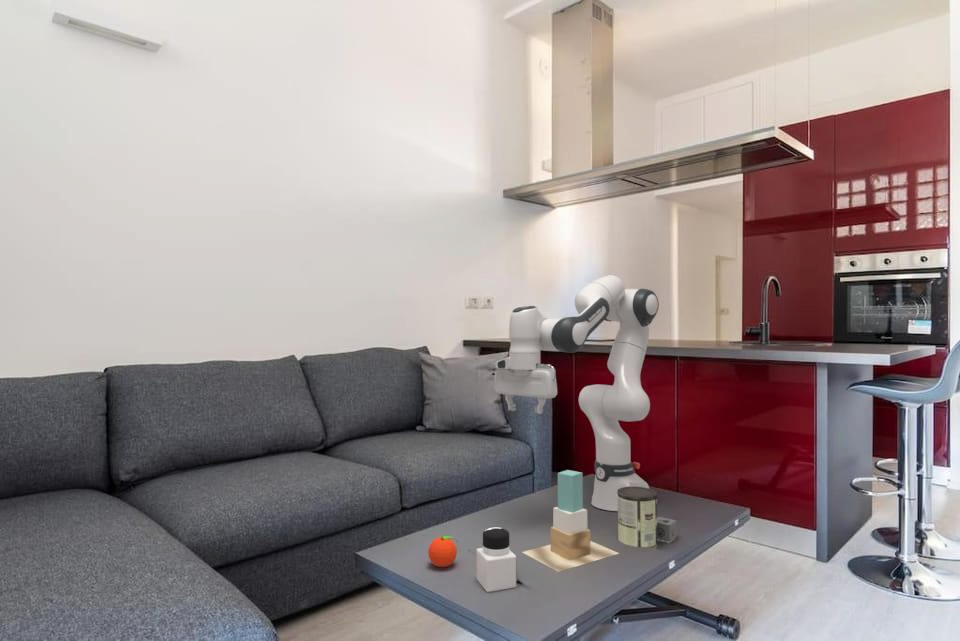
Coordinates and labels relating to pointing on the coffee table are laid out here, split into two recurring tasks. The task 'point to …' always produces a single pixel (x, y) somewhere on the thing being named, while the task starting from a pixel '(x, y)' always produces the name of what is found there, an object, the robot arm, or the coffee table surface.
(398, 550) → the coffee table surface
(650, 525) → the coffee can
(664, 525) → the dice cube
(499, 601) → the coffee table surface
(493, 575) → the medicine bottle
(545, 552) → the birch board
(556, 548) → the oak block
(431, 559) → the clementine
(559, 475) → the teal block
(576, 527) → the white block
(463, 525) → the coffee table surface
